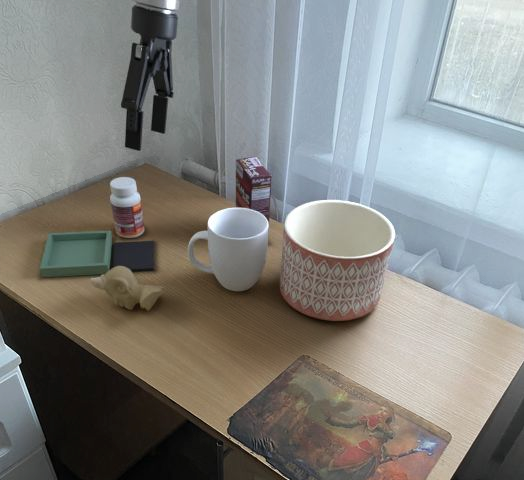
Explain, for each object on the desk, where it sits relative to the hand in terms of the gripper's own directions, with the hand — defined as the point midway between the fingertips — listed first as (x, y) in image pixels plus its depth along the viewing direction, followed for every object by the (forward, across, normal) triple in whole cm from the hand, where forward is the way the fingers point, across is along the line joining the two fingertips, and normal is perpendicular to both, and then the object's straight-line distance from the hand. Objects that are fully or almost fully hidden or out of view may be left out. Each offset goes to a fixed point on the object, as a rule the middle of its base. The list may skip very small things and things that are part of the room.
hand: (146, 140), depth 100 cm
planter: (+18, -8, -41) cm, 45 cm away
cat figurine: (+24, -19, -6) cm, 31 cm away
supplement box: (+17, +9, -22) cm, 29 cm away
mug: (+20, -8, -22) cm, 31 cm away
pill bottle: (+22, +4, +4) cm, 22 cm away
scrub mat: (+22, -5, -1) cm, 23 cm away
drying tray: (+24, -7, +10) cm, 27 cm away
